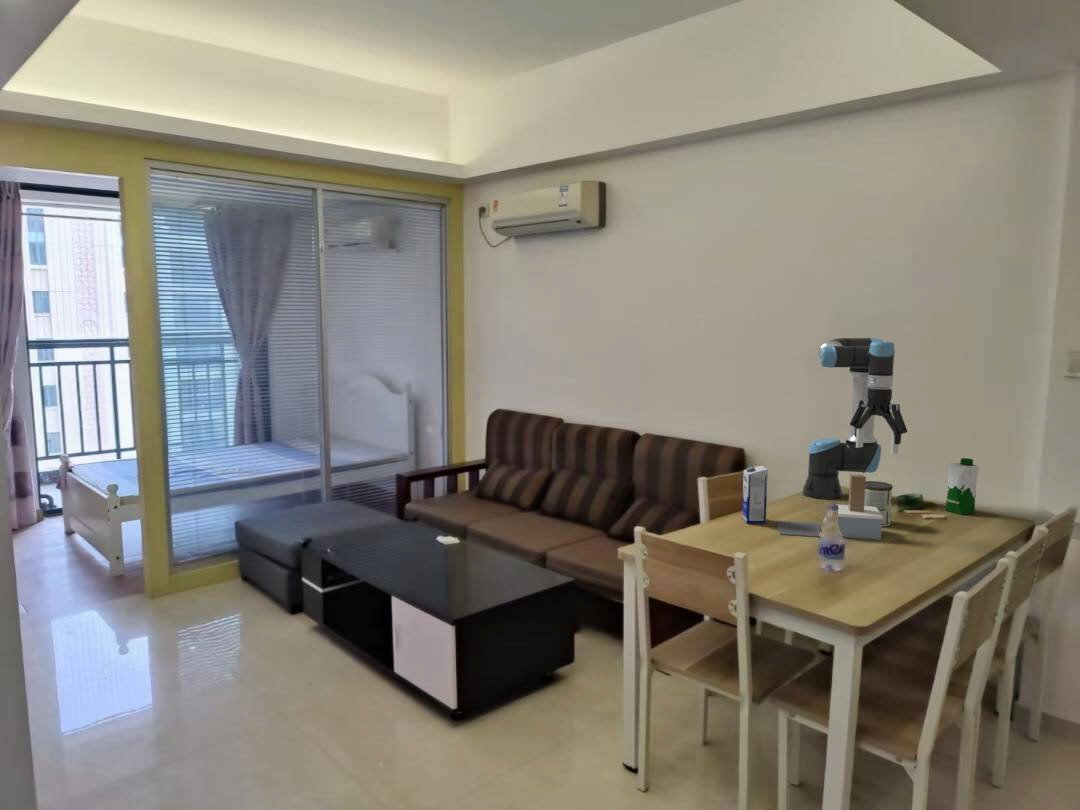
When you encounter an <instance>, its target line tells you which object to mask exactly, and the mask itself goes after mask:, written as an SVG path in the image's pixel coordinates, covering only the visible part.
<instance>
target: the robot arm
mask: <svg viewBox="0 0 1080 810" xmlns="http://www.w3.org/2000/svg"><path fill="white" fill-rule="evenodd" d="M895 354H896V351H895V343H894V342H893V341H883V340H882V339H881V338H873V337H849V338H848V337H840V338H833V339H831V340H828V341H825V342H824V343H822V345H820V347H819V351H818V356H819V360H820V365H821V367H823V368H830V369H831V368H849V371H848V372H849V373H850V374H851V375H852V376H853V378H852V392H851V393H852V394H851V395H852V396H851V397H852V398H851V412H850V413H851V414H850V415H851V417H850V422H849V425H850V430H849V431H850V434H849V435H848V436H847V437H846V438H845V442H841V440H840V439H839V438H834V437H833V438H832V437H829V438H818V439H815V440H812V441H811V442H810V443H809V451H808V454H809V455H808V469H807V470H808V473H807V477H806V480H805V483H804V485H803V487H802V495H804V496H805V497H807V498H808V497H809V498H814V499H819V500H820V499H821V500H837V499H841V498H842V497H843V490H842V486H841V483H840V479H839V472H846V473H847V472H851V473H862V474H865V473H870V474H871V473H875V472H877V469H878V468H879V465H880V461H881V454H882V446H881V444H879V443H878V439H877V438H876V437H875V435H874V432H875V430H874V429H875V416H878V417H882V418H883V419H885V421H886V423H887V425H888V426H889V427H890V429H891V430H892V432H893V433H892V434H891V441H890V442H891V443H890V454H891V455H897V454H899V445H901V441H902V435H903V434H907V433H908V429H907V427H906V426H907V425H906V423H905V421H904V418H903V415H902V413H901V407H900V406H901V405H900V404H899V403H893V404H892V403H891V400H892V398H893V389H892V387H893V386H894V384H893V383H894V365H895V364H894V363H895Z"/></svg>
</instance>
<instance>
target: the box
mask: <svg viewBox="0 0 1080 810" xmlns="http://www.w3.org/2000/svg"><path fill="white" fill-rule="evenodd" d="M837 518H838V525H839V529H840V532H841V533H842V534H843V536H844V537H843V538H850V539H864V540H881V539H882V527H881V525H882V519H867V518H850V517H837Z"/></svg>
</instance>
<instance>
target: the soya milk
mask: <svg viewBox="0 0 1080 810" xmlns="http://www.w3.org/2000/svg"><path fill="white" fill-rule="evenodd" d="M973 463H974V459H972V458H968V457H967V458H966V457H962V458H960V462H953V463H949V464H948V463H947V464H946V466H947V467H946V468H947V472H948V479H947V490H946V491H947V493H946V494H947V496H946V502H945V509H944V510H945V511H946V512H949V513H953V514H957V515H962V516H963V515H968V514H969V515H970V514H975V512H976V511H975V509H976V507H975V506H976V493H977V478H978V473H979V469H980V465H975V464H973Z"/></svg>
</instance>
